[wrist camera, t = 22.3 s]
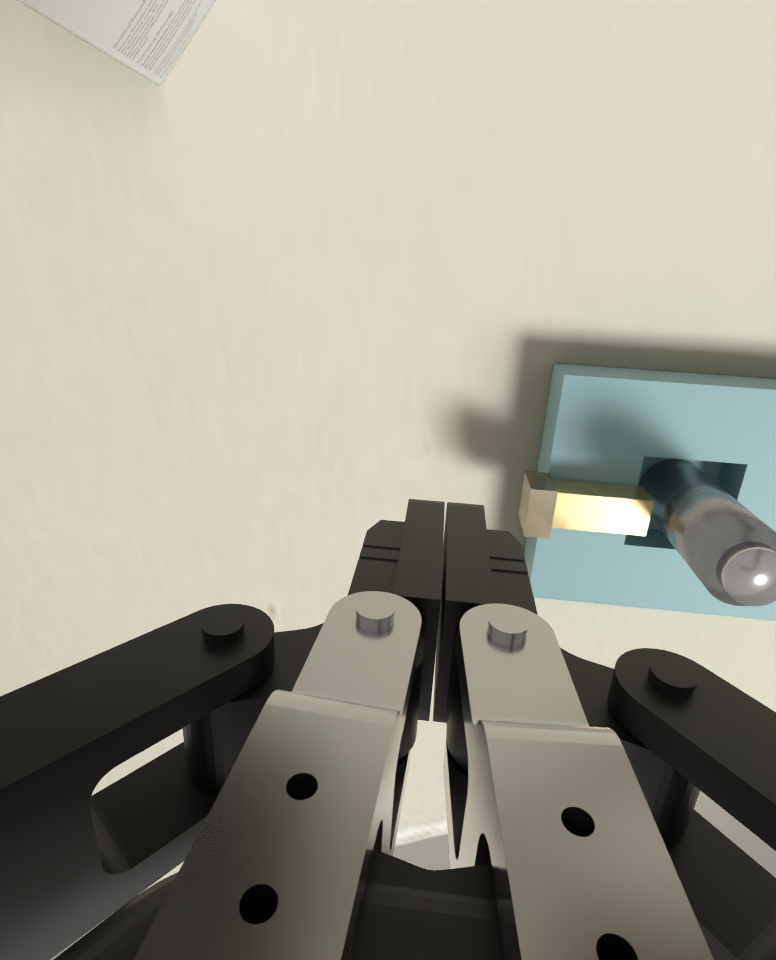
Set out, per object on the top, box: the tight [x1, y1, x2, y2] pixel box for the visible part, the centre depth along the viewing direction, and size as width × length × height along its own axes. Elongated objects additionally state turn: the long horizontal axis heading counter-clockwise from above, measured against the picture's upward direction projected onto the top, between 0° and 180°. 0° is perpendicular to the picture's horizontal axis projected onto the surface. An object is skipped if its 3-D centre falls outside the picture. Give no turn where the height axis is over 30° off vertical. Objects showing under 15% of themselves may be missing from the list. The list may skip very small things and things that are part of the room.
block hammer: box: [518, 471, 654, 539], centre depth 37 cm, size 3×8×3 cm, turn 87°
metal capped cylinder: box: [638, 459, 776, 606], centre depth 35 cm, size 4×4×13 cm
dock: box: [524, 363, 776, 621], centre depth 40 cm, size 16×18×4 cm
